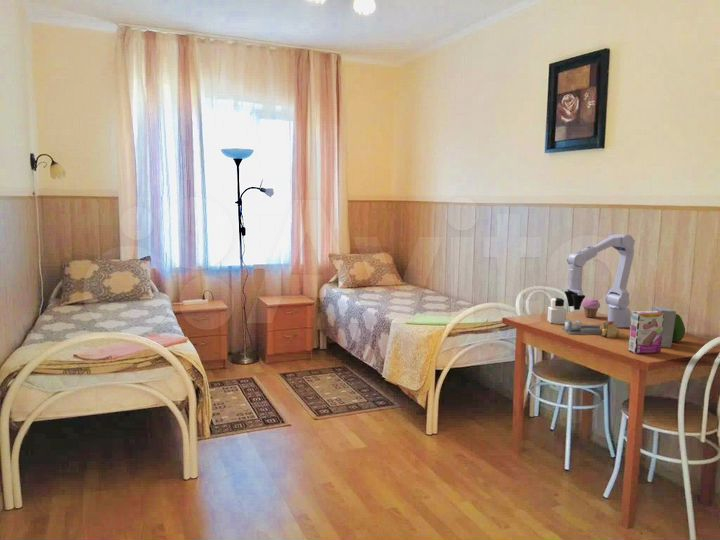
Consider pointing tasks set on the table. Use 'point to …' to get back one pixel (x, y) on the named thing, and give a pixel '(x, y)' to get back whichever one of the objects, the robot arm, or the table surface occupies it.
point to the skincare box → (666, 324)
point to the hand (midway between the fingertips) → (573, 307)
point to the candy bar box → (646, 332)
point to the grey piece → (580, 328)
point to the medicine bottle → (557, 311)
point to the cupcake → (590, 307)
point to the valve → (610, 330)
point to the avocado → (678, 329)
